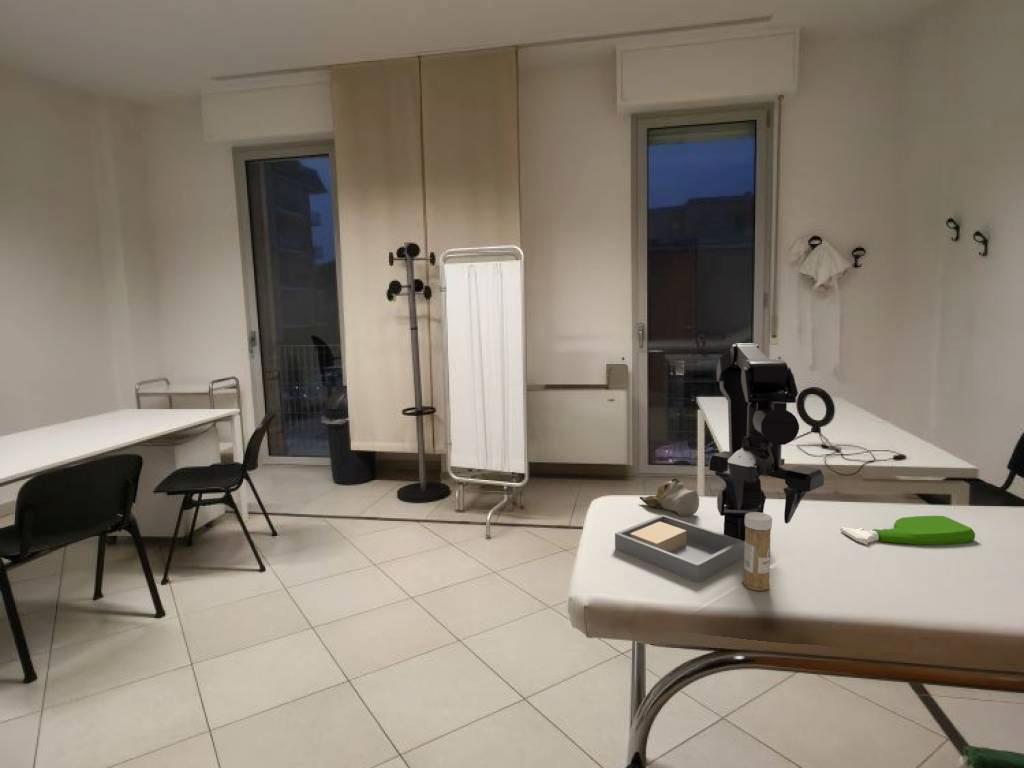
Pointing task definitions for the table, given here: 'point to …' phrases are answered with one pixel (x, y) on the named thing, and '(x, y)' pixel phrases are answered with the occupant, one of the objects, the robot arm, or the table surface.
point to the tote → (685, 550)
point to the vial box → (661, 536)
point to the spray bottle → (917, 532)
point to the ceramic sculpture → (674, 498)
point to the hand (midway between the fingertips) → (761, 515)
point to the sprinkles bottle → (757, 551)
